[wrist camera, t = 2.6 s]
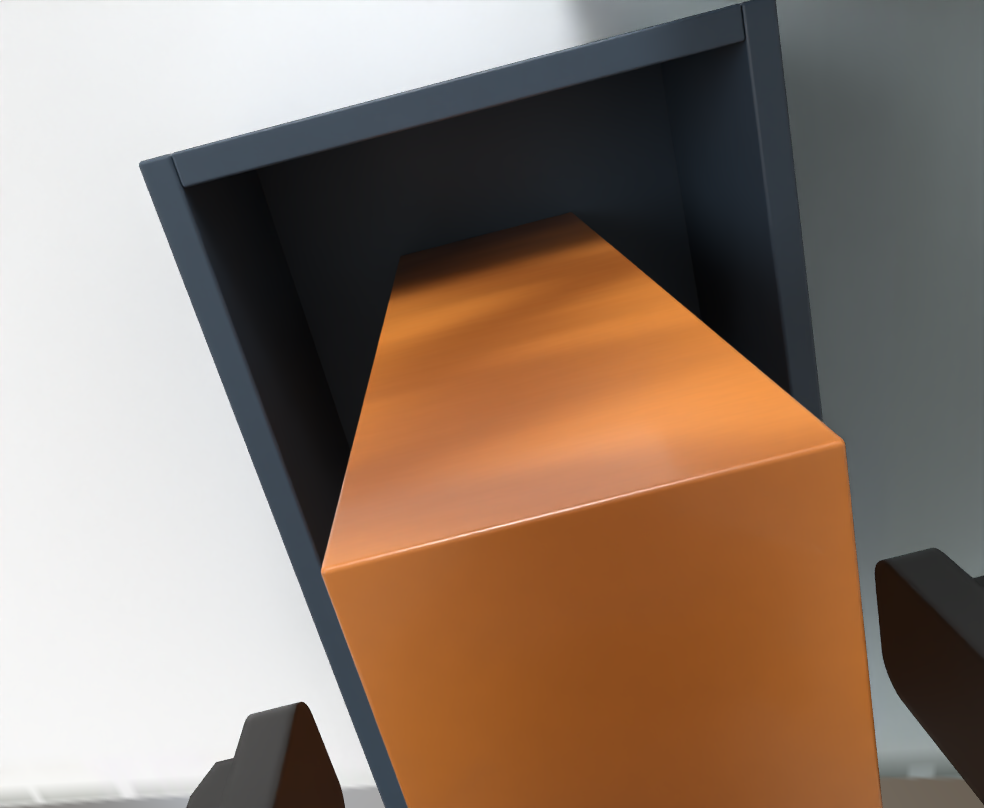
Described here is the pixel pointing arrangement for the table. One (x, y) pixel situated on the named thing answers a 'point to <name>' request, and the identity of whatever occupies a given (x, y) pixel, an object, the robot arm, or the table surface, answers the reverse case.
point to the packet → (595, 548)
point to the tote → (474, 212)
